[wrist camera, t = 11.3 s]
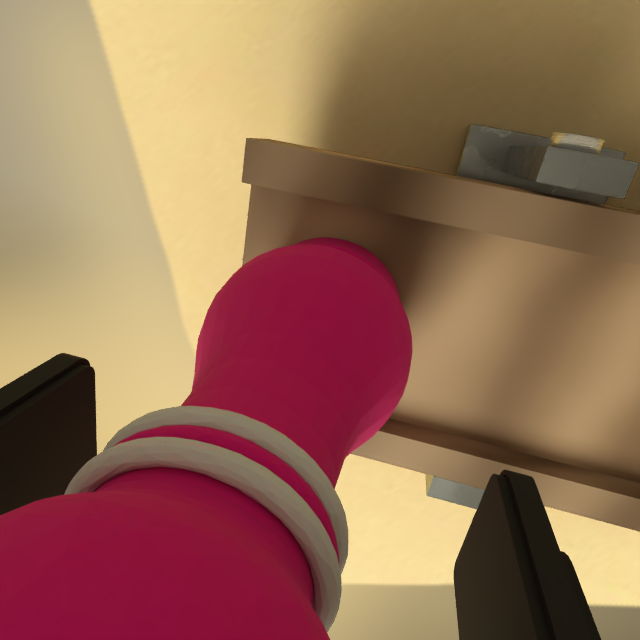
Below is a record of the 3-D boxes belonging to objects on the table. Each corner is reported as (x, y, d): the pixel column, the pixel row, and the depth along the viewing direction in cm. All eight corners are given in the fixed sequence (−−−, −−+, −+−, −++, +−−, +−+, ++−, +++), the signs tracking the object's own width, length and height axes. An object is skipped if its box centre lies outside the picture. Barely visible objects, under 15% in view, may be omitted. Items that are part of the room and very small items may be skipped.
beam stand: (618, 151, 21) (711, 155, 15) (500, 441, 28) (528, 534, 21) (469, 124, 22) (494, 116, 15) (389, 413, 29) (382, 494, 22)
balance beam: (983, 278, 16) (1085, 302, 14) (784, 532, 21) (833, 583, 19) (267, 138, 19) (246, 138, 17) (237, 389, 24) (217, 417, 22)
